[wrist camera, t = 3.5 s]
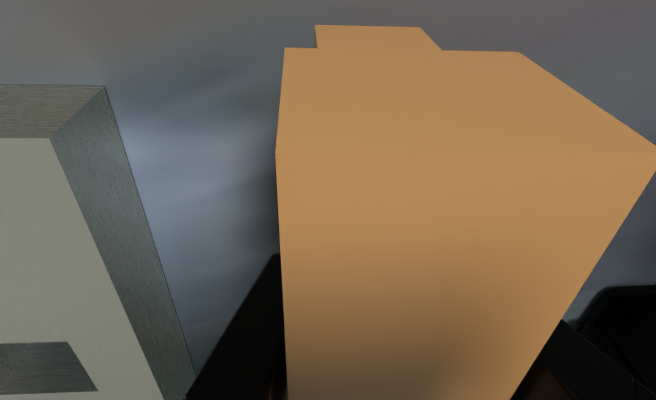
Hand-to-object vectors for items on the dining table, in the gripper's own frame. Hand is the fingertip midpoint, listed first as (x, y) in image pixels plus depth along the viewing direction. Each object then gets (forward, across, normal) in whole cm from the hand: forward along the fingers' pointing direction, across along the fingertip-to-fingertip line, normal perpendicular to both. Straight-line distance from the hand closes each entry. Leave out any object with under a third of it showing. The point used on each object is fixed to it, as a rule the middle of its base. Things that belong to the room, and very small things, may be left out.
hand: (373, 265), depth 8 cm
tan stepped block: (+4, 0, 0) cm, 4 cm away
